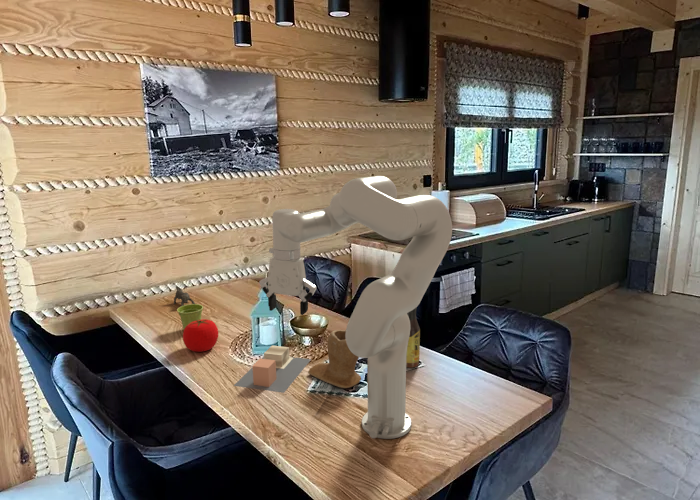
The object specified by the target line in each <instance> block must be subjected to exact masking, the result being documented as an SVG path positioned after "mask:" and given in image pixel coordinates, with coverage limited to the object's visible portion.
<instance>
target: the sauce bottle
mask: <svg viewBox="0 0 700 500" xmlns="http://www.w3.org/2000/svg"><path fill="white" fill-rule="evenodd" d="M417 307H418V306H417ZM417 307H416V308H415V309H413V310H412V311H410V312H408V313H407V315H408V317H409V320H410V335H409V341H408V346H407V355H406V369H407V368H410V369H412V368H416V367H418V366H419V365H420V347H421V345H420V342H421V339H420V338H421V328H420V325H419V323H418V320H417V309H418V308H417Z"/></svg>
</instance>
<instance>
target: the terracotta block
mask: <svg viewBox="0 0 700 500" xmlns="http://www.w3.org/2000/svg"><path fill="white" fill-rule="evenodd" d="M252 367H253V382H254V385H259V386H266V387H270V386H271V384H272V383H273V382H274V381H275V380H276V360H268V359H262V358H259V359H258V360H257V361H256V362H255V363H253V365H252ZM252 367H251V368H252Z"/></svg>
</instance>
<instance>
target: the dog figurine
mask: <svg viewBox="0 0 700 500" xmlns="http://www.w3.org/2000/svg"><path fill="white" fill-rule="evenodd" d="M175 289H176V292H175V295H174V298H173V305H176V304H177V303H176V301H177V300H179V301H180V300H181V302H180V307H181V306H184V305H185V303H187V304H188V303H189V301H190V302H191V304H196V303H195V301H194V300H193V299H192V298H190V294H189V293H188V292H184V291H183V289H182V288H180V287H179V286H176V287H175Z"/></svg>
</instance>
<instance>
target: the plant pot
mask: <svg viewBox="0 0 700 500" xmlns="http://www.w3.org/2000/svg"><path fill="white" fill-rule="evenodd" d="M203 309H204V306H203V305H202V304H197V303H195V304H192V303H190V304H184V305H183V306H181V305H180V306H179V307H178V308H177V309H176V310H177V311H176V312H177V313H178V315H179V316H180V320H181V325H182V328H183V330H184V329H185V327H186V326H187V325H188V324H190V323H191V322H193V321H196V320H201V319H202V312H203Z"/></svg>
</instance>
